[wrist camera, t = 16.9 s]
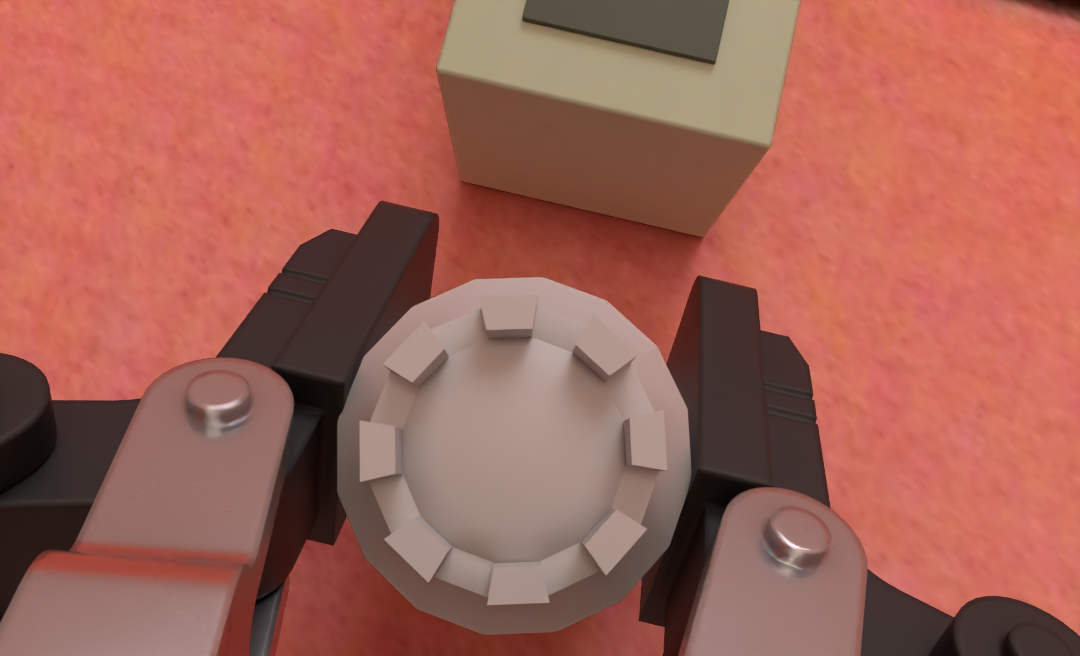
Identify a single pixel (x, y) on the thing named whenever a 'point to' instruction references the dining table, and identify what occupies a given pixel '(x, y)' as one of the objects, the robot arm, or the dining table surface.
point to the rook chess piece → (513, 455)
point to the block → (616, 101)
